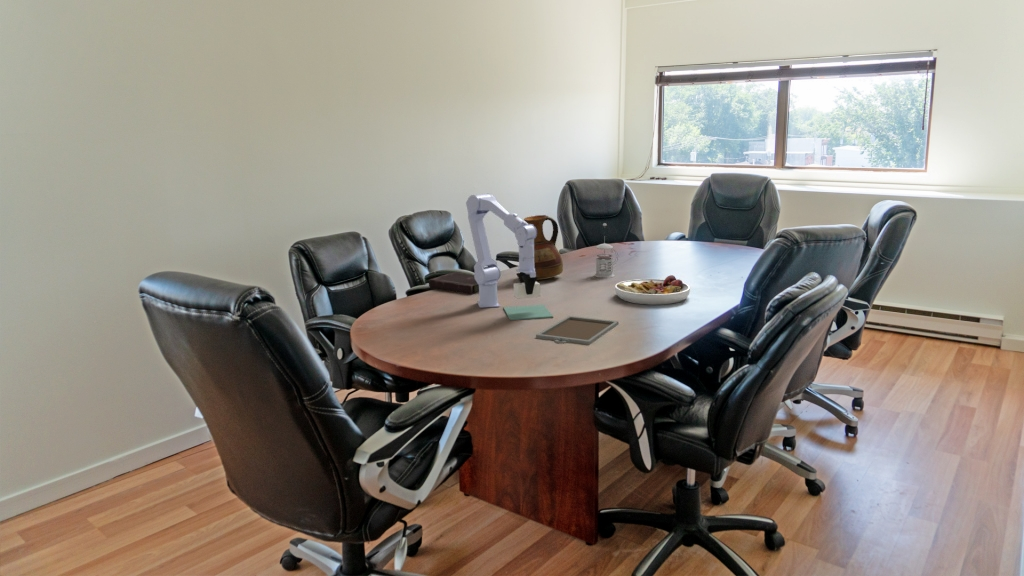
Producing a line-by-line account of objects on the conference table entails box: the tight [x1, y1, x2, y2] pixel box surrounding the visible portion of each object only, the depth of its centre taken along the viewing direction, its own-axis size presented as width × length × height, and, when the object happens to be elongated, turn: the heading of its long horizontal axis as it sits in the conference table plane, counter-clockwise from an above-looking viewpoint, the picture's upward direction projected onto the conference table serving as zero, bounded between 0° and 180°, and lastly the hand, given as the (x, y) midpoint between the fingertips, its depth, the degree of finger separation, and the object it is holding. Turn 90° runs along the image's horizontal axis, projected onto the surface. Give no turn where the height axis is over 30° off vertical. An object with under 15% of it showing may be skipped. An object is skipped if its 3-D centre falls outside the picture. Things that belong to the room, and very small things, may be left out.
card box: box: [513, 281, 541, 300], centre depth 258 cm, size 9×4×5 cm, turn 108°
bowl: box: [614, 274, 691, 306], centre depth 280 cm, size 30×30×8 cm
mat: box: [503, 304, 554, 321], centre depth 260 cm, size 18×16×1 cm
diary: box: [428, 271, 479, 296], centre depth 307 cm, size 19×25×5 cm
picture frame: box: [535, 315, 619, 346], centre depth 234 cm, size 19×2×30 cm
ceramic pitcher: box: [523, 214, 564, 281], centre depth 321 cm, size 20×20×30 cm
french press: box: [593, 222, 619, 279], centre depth 325 cm, size 10×12×25 cm
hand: (527, 292), depth 259 cm, fingers closed on card box, 4 cm apart
